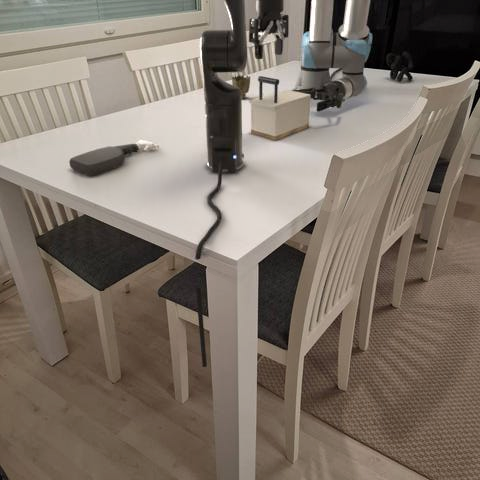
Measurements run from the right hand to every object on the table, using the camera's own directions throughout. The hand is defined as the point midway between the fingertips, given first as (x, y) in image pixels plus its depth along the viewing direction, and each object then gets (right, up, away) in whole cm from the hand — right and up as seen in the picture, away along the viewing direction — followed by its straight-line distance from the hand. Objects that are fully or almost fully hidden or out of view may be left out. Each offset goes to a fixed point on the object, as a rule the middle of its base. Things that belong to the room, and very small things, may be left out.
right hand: (300, 103), depth 145 cm
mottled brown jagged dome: (-19, +13, +34) cm, 41 cm away
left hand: (-11, +8, -17) cm, 22 cm away
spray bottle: (-54, -22, -20) cm, 62 cm away
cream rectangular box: (-7, -9, -1) cm, 11 cm away
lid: (-7, -1, -6) cm, 9 cm away
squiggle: (+52, +28, +56) cm, 81 cm away
